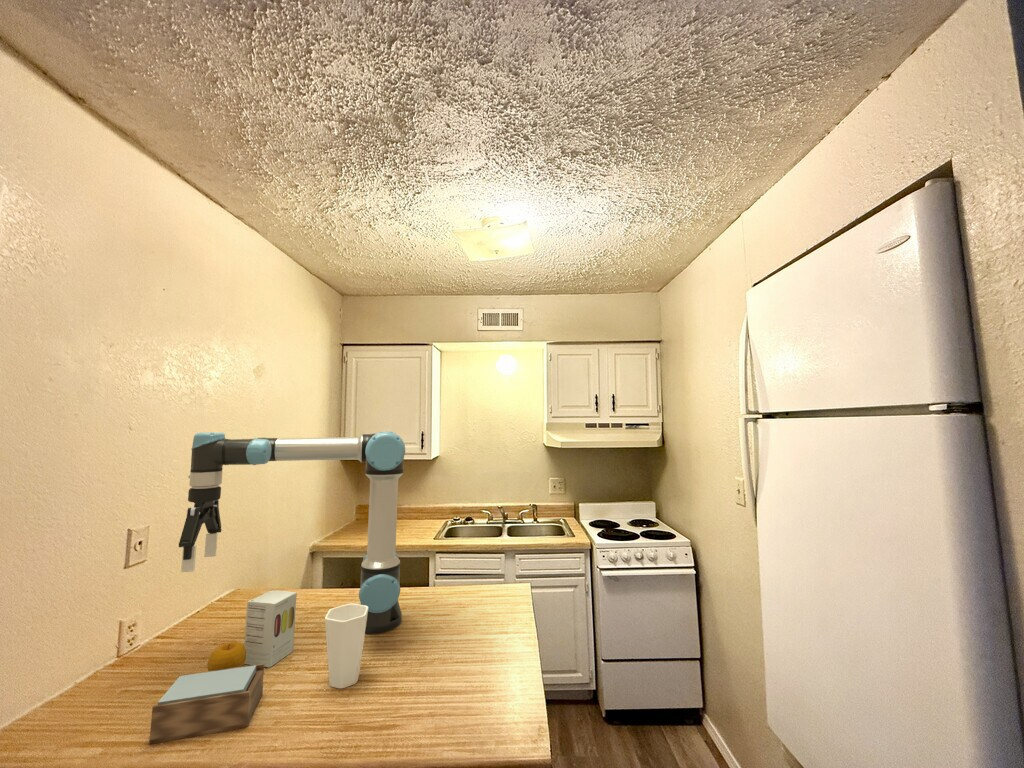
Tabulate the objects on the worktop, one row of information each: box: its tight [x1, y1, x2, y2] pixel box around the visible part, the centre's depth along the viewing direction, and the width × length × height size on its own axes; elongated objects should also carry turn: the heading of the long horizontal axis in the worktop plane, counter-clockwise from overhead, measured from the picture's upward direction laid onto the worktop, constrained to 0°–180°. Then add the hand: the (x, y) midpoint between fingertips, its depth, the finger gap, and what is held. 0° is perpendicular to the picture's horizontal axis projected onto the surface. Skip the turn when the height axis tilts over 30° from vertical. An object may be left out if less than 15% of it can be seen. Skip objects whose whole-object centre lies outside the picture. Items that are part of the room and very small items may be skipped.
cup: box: [324, 603, 368, 689], centre depth 111 cm, size 11×10×17 cm
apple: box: [206, 641, 246, 671], centre depth 111 cm, size 8×8×9 cm
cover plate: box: [157, 665, 256, 705], centre depth 96 cm, size 16×10×2 cm, turn 107°
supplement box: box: [243, 589, 298, 668], centre depth 122 cm, size 10×9×17 cm
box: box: [148, 664, 265, 745], centre depth 96 cm, size 18×12×7 cm, turn 107°
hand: (199, 563), depth 118 cm, fingers open, 13 cm apart
